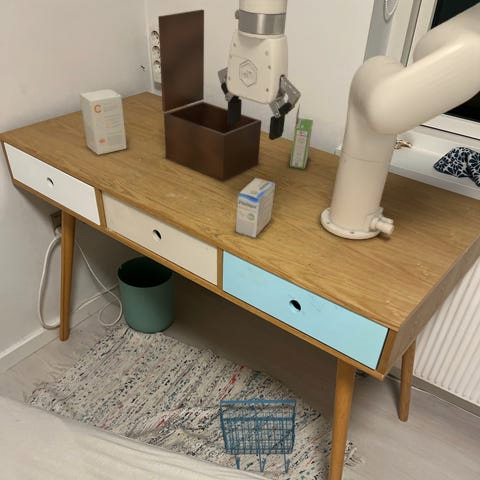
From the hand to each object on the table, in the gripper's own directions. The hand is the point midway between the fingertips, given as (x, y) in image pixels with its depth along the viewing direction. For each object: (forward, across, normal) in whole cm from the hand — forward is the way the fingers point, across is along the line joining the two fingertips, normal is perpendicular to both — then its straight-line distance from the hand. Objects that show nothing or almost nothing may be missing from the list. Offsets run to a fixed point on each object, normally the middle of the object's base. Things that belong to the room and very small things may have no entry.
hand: (254, 130), depth 92 cm
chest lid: (-2, -34, +16) cm, 38 cm away
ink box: (+19, -9, +32) cm, 38 cm away
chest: (+19, -25, +16) cm, 35 cm away
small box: (+19, -49, +3) cm, 52 cm away
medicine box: (+19, +2, -1) cm, 19 cm away
